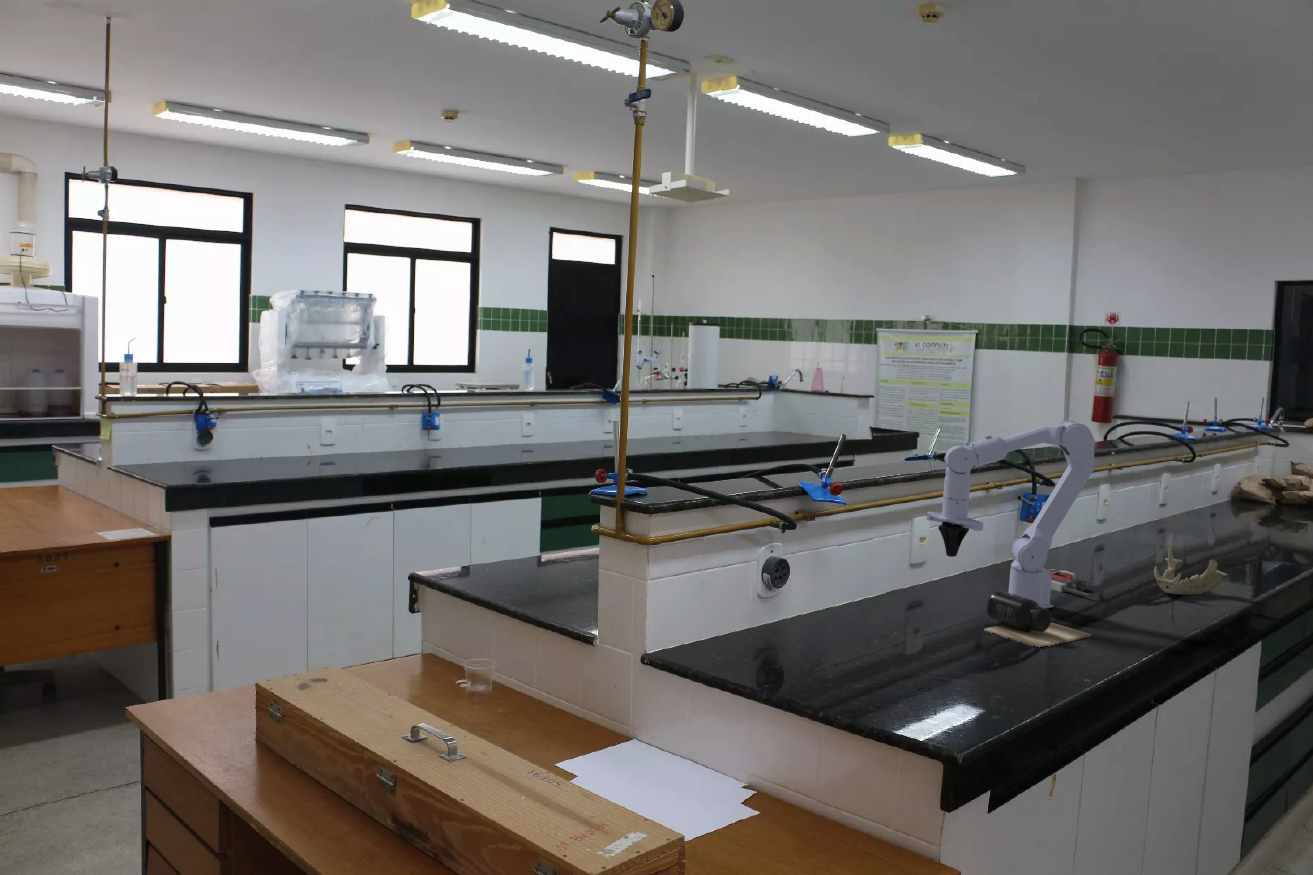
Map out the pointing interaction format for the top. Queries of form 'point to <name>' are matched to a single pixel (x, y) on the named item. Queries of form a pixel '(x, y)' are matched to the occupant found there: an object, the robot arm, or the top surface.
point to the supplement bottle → (1017, 612)
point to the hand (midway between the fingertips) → (951, 555)
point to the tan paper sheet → (1040, 635)
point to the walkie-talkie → (1067, 582)
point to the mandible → (1191, 585)
